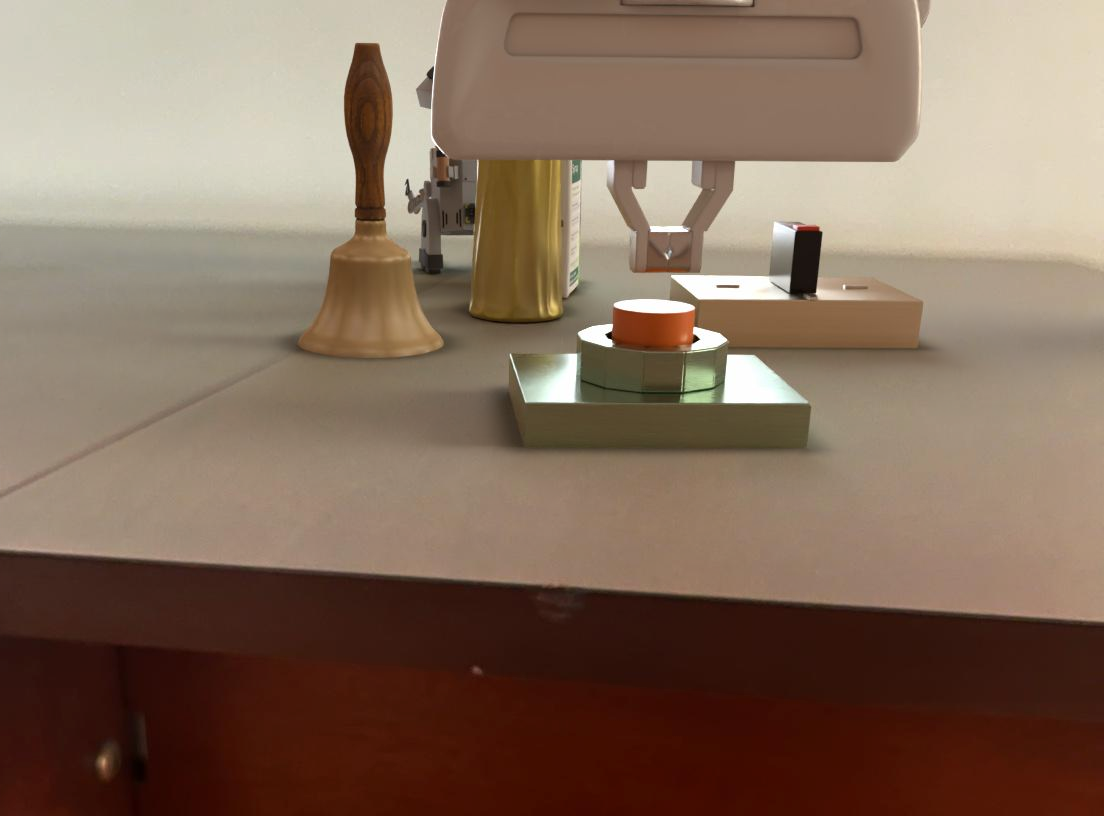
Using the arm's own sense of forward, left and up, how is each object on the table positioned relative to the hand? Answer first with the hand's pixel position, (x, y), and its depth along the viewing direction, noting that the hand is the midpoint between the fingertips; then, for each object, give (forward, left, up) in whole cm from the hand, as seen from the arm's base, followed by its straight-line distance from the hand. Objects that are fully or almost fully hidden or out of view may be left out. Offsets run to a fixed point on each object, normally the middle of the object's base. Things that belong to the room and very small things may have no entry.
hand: (664, 271), depth 57 cm
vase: (+4, -28, -7) cm, 29 cm away
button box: (0, 0, -7) cm, 7 cm away
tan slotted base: (-12, -21, -7) cm, 25 cm away
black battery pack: (-12, -21, -4) cm, 25 cm away
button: (0, 0, -3) cm, 3 cm away
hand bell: (+13, -17, -7) cm, 23 cm away
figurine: (+6, -50, -7) cm, 51 cm away
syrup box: (+2, -38, -7) cm, 39 cm away
